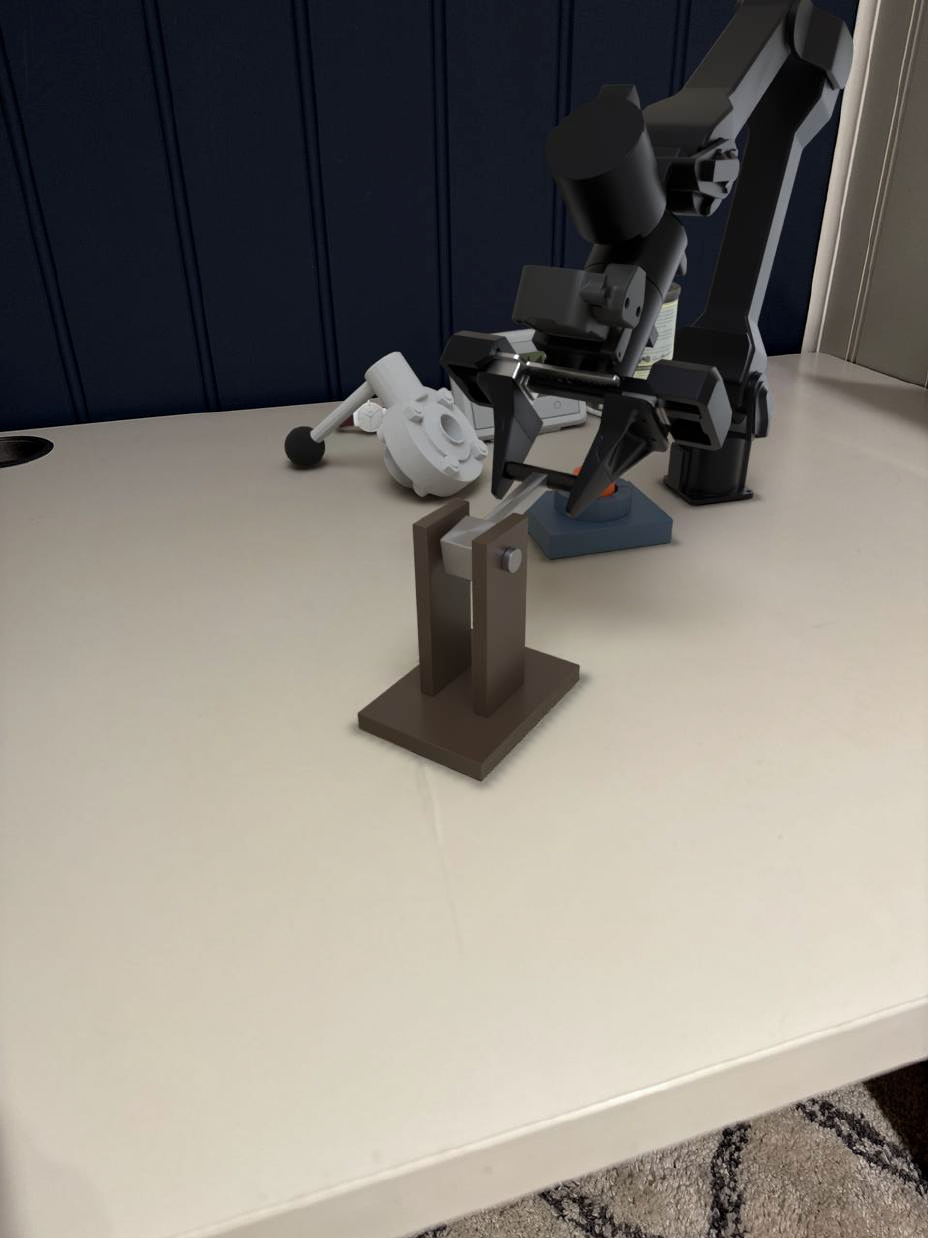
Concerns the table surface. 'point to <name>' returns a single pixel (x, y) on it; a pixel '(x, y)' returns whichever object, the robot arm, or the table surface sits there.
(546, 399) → the digital clock
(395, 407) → the mechanical valve
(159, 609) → the table surface
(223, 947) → the table surface
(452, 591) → the bracket
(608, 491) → the button
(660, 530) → the button housing
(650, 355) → the coffee can
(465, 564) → the tap lever
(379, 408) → the watch
